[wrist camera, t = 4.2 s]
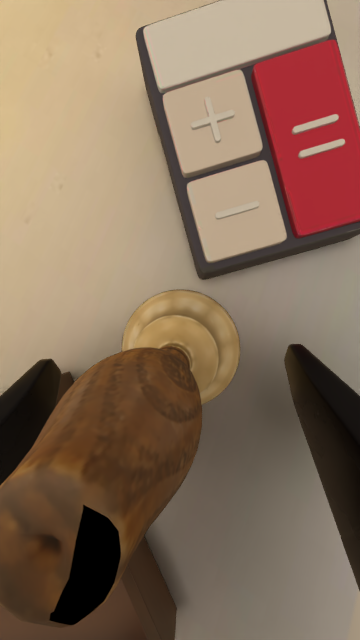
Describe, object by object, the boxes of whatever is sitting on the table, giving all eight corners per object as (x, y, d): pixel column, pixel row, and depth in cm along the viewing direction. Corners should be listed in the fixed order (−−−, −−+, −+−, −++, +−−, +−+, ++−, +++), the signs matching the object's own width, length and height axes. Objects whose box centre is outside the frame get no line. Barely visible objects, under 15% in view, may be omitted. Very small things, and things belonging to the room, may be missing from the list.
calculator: (201, 273, 14) (129, 12, 14) (198, 282, 19) (144, 82, 18) (397, 217, 14) (325, -55, 14) (348, 240, 18) (293, 34, 18)
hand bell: (226, 419, 18) (526, 1295, 2) (112, 393, 18) (-486, 876, 2) (250, 302, 18) (741, 90, 2) (135, 280, 18) (-276, -39, 2)
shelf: (177, 608, 17) (171, 691, 14) (1, 684, 18) (-54, 785, 14) (69, 371, 18) (34, 383, 14) (-95, 451, 19) (-173, 484, 15)
